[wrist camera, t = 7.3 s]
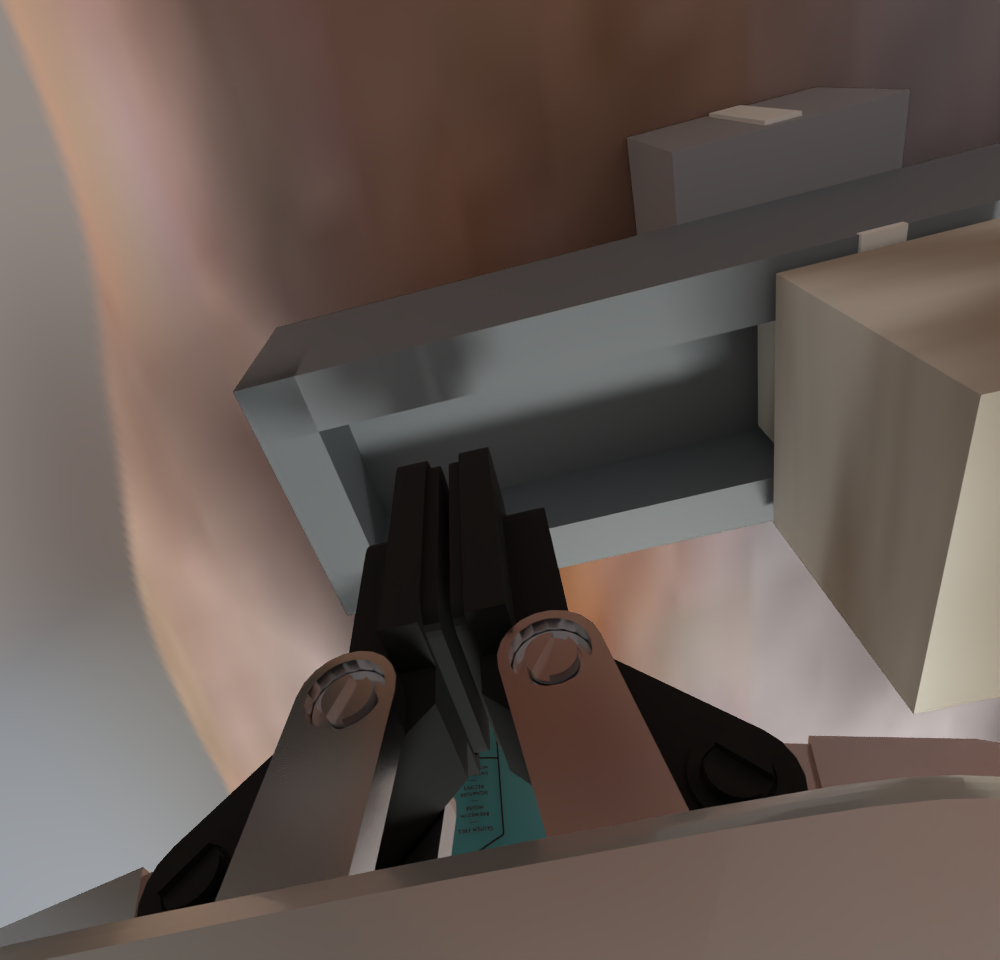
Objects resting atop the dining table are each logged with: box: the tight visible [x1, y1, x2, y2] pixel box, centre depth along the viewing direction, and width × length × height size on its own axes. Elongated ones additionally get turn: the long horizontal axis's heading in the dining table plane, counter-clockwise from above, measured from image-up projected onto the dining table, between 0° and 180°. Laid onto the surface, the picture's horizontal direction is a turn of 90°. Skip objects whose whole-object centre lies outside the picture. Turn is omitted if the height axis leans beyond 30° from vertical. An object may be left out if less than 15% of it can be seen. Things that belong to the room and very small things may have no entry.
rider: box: [758, 218, 1000, 714], centre depth 11 cm, size 4×6×7 cm
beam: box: [233, 87, 1000, 615], centre depth 16 cm, size 24×9×8 cm, turn 103°
